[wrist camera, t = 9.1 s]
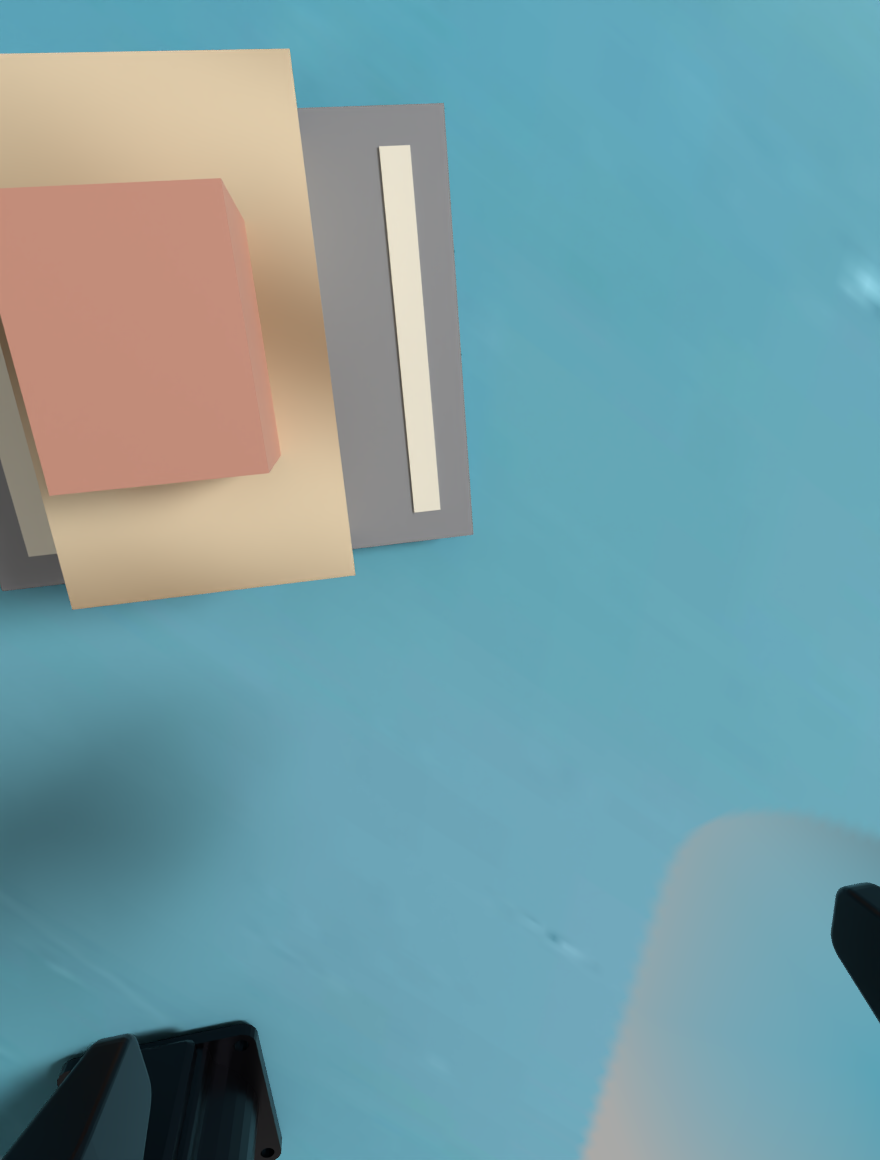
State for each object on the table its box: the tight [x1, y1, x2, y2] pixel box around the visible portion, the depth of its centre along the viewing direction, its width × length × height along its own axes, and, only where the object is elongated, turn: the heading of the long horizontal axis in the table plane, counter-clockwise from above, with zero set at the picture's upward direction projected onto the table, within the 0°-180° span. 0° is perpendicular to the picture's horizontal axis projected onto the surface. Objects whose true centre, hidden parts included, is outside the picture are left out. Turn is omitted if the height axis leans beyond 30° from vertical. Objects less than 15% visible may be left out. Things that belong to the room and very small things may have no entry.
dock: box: [0, 103, 473, 591], centre depth 16 cm, size 10×12×1 cm
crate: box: [0, 178, 281, 496], centre depth 10 cm, size 4×3×2 cm
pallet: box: [0, 49, 355, 610], centre depth 13 cm, size 9×6×4 cm, turn 4°
